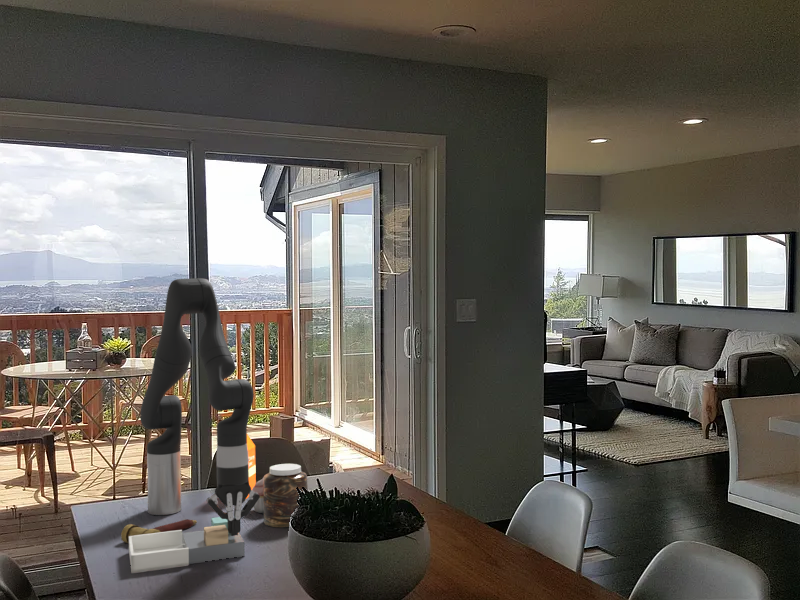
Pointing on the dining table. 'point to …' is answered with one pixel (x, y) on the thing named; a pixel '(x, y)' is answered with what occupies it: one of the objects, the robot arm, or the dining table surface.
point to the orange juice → (251, 463)
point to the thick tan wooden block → (215, 535)
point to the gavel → (155, 529)
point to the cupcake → (259, 489)
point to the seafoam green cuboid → (219, 522)
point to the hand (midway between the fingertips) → (234, 534)
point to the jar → (282, 493)
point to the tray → (157, 551)
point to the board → (211, 547)
